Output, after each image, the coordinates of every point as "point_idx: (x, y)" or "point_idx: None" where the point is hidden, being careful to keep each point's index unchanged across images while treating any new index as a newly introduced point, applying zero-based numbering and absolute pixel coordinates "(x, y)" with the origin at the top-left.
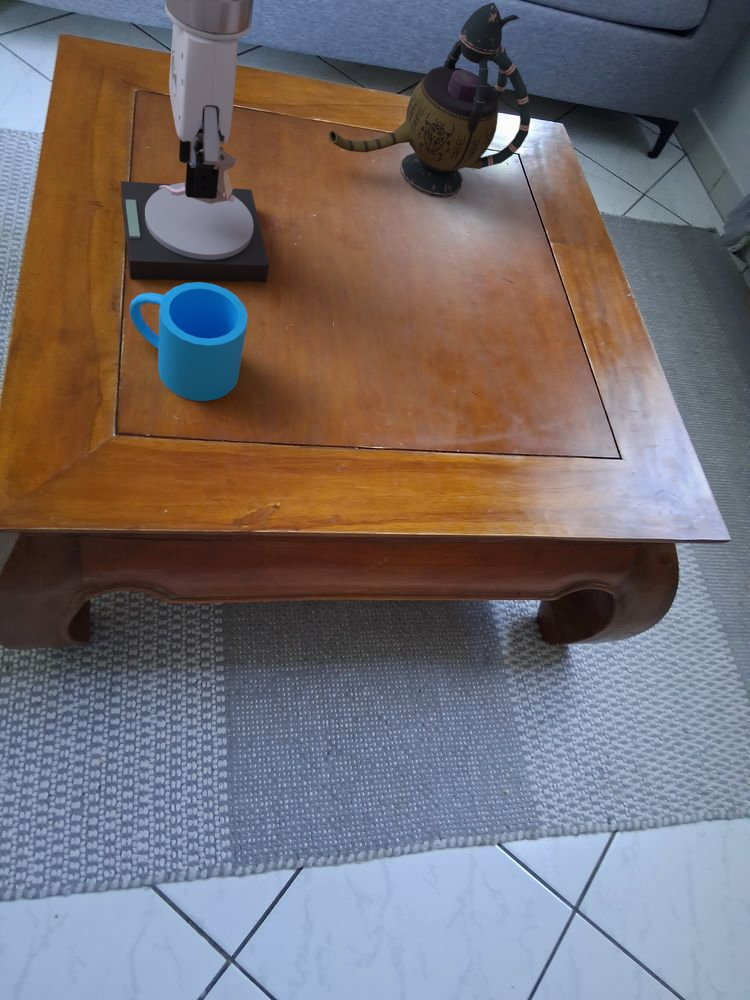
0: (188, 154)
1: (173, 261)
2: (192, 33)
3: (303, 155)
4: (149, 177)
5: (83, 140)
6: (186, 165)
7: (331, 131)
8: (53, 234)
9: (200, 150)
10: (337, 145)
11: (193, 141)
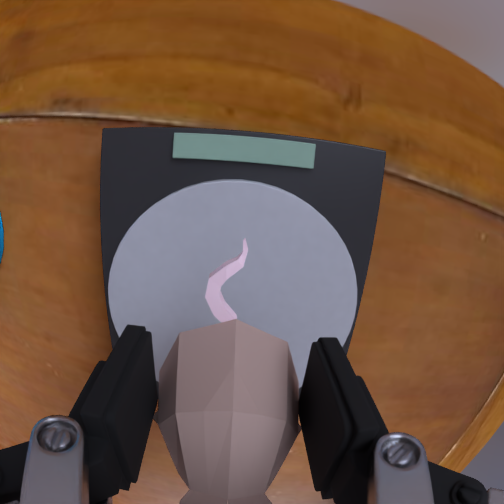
0: (314, 379)
1: (103, 224)
2: None
3: None
4: (421, 222)
5: (500, 131)
6: (105, 399)
7: None
8: (258, 5)
9: (277, 438)
10: None
11: None
